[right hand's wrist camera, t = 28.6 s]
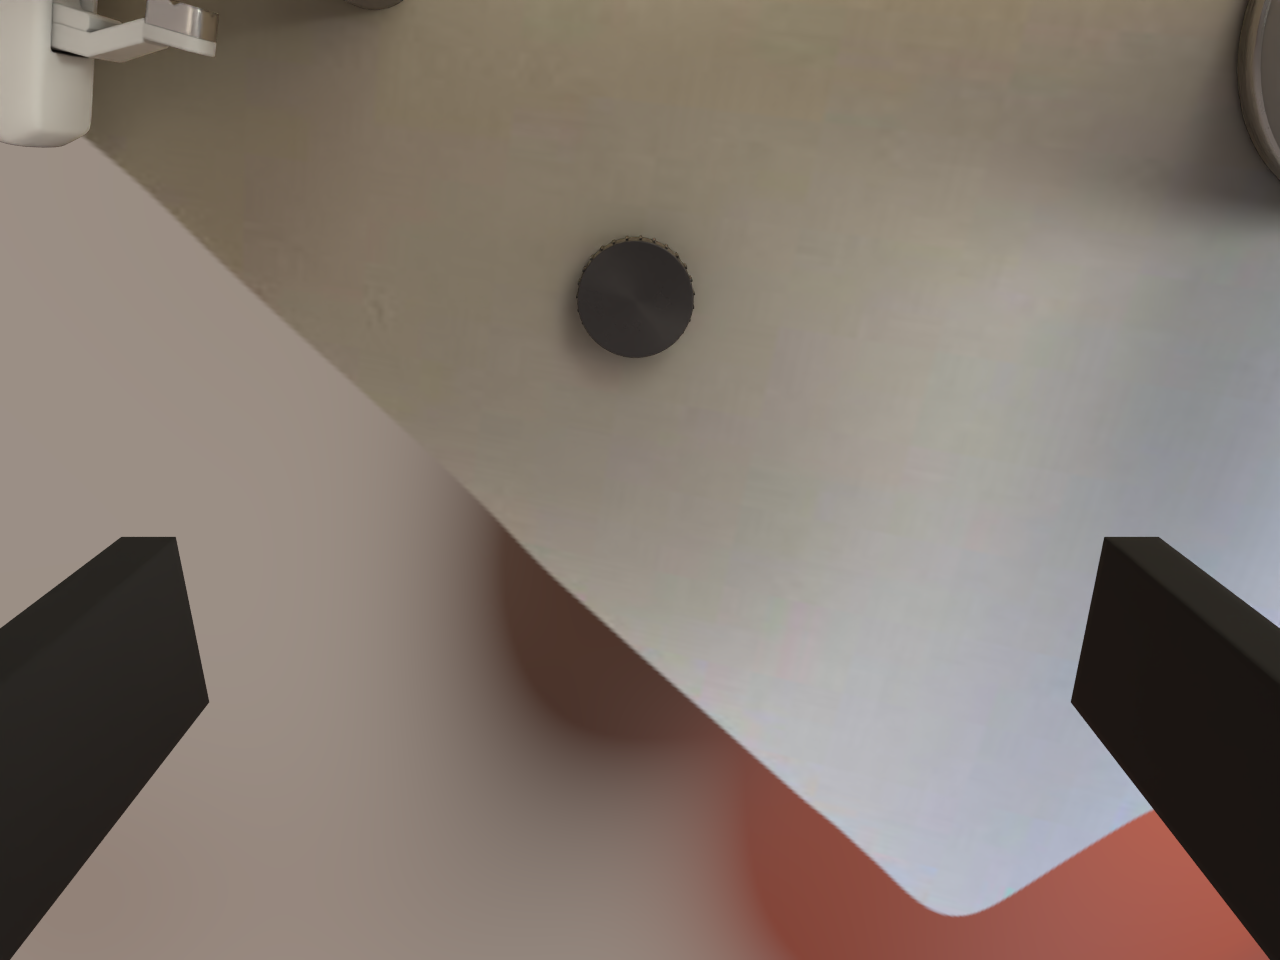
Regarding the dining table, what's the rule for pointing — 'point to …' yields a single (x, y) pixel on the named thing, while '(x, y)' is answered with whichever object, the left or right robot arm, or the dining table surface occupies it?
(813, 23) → the dining table surface
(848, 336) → the dining table surface
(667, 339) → the lid
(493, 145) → the dining table surface
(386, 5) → the dark gray cylinder
